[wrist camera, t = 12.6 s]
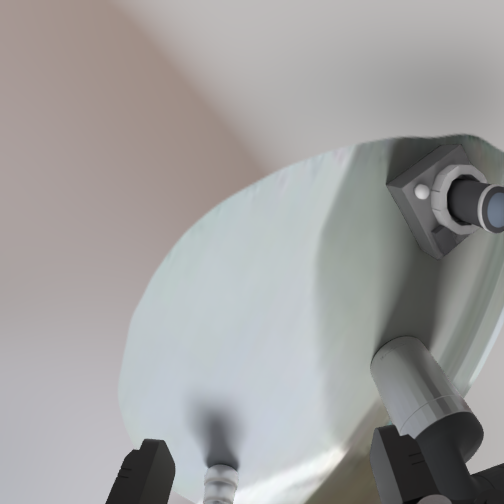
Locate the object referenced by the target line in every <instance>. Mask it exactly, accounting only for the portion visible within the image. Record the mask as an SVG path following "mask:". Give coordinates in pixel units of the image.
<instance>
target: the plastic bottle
mask: <svg viewBox="0 0 504 504" xmlns="http://www.w3.org/2000/svg"><path fill="white" fill-rule="evenodd" d="M238 483H239V479H238V474H237V472H236V471H235V470H234V469H233V468H232V467H230V466H227V465H222V464H218V465H214V466H212V467H210V468H209V469H208V470H207V472H206V474H205V478H204V484H205V492H204V501H203V504H233V501H234V496H235V491H236V489H237V486H238Z"/></svg>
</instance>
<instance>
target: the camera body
mask: <svg viewBox="0 0 504 504" xmlns="http://www.w3.org/2000/svg"><path fill="white" fill-rule="evenodd" d="M454 179H464V180H470V181H476V182H481V183H486V184H488V183H487V181H486V178H485V176H484V175H483V174H482V173H481V172H480V171H479V170H478V169H476V168H475V167H474V166H472V165H471V163H470V161H469V159H468V157H467V155H466V153H465V151H464V149H463V147H462V145H461V144H453V145H441V146H439V147H438V148H436V149H435V150H434V151H432V152H431V153H430V154H428V155H427V156H425V157H424V158H423V159H421V160H420V161H419V162H417V163H416V164H414V165H413V166H412V167H410V168H409V169H408V170H406V171H405V172H403V173H402V174H401V175H399V176H398V177H396V178H395V179H394V180H392V181H391V182H389V183H388V184H387V185H386V186H387V188H388V189H389V191H390V193H391V195H392V196H393V198H394V200H395V202H396V203H397V205H398V207H399V209H400V210H401V212H402V214H403V216H404V218H405V220H406V221H407V223H408V225H409V227H410V229H411V231H412V233H413V235H414V237H415V239H416V241H417V243H418V245H419V246H420V248H421V250H423V251H424V252H426V253H428V254H429V255H431V256H432V257H434V258H435V259H437V260H439V259H441V258H442V257H443V256H444V255H446V254H447V253H449V252H450V251H451V250H452V249H454V248H455V247H456V246H457V245H458V244H459V243H460V242H462V241H463V240H464V239H465V238H466V237H468V236H469V235H470V234H472V233H474V232H475V231H476V230H477V229H478V228H480V227H478V226H476V225H473V224H471V223H468V222H466V221H463V220H461V219H458V218H455V217H453V216H451V215H450V214H449V212H448V210H447V192H448V190H449V187H450V185H451V182H452V181H453V180H454Z"/></svg>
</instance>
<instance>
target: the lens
mask: <svg viewBox="0 0 504 504" xmlns="http://www.w3.org/2000/svg"><path fill="white" fill-rule="evenodd" d="M447 210H448V212H449V214H450V215H451V216H453V217H455V218H458V219H461V220H463V221H466V222H468V223H471V224H473V225H476V226H478V227H481V228H483V229H485V230H486V231H488V232H490V233H493V234H498V233H501V232H503V231H504V187H503V186H501V185H496V184H493V185H491V184H486V183H481V182H476V181H470V180H464V179H454V180H453V181H452V182H451V185H450V187H449V190H448V192H447Z"/></svg>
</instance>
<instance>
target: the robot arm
mask: <svg viewBox="0 0 504 504" xmlns="http://www.w3.org/2000/svg"><path fill="white" fill-rule="evenodd" d="M371 374H372V377H373V380H374V382H375V384H376V386H377V389H378V391H379V394H380V396H381V398H382V400H383V403H384V405H385V407H386V410H387V412H388V415H389V417H390V419H391V422H392V424H393V425H388V426H383V427H379V428H375V430H374V435H373V440H372V444H371V449H370V463H371V467H372V471H373V474H374V478H375V481H376V485H377V489H378V492H379V496H380V500H381V503H382V504H504V463H503V464H500V465H497V466H494V467H491V468H489V469H486V470H483V471H481V472H478V473H475V474H472V475H470V473H469V471H468V469H467V467H466V464H465V463H466V462H467V461H468V460H469V459H470V458H471V457H472V456H473V455H474V454H475V452H476V451H477V449H478V448H479V447H480V445H481V443H482V440H483V436H484V432H483V428H482V426H481V424H480V422H479V421H478V420H477V418H476V417H475V415H474V414H473V412H472V411H471V409H470V408H469V406H468V405H467V403H466V402H465V400H464V399H463V398H462V396H461V395H460V394H459V392H458V391H457V389H456V388H455V387H454V385H453V384H452V382H451V381H450V380H449V378H448V377H447V375H446V374H445V373H444V371H443V370H442V369H441V367H440V366H439V365H438V363H437V362H436V361H435V359H434V358H433V356H432V355H431V354H430V352H429V351H428V350H427V348H426V347H425V346H424V345H423V343H422V342H421V341H420V340H419V339H417V338H415V337H411V336H404V337H399V338H396V339H393V340H391V341H390V342H388V343H386V344H385V345H384V346H383V347H382V348H381V349H380V350H379V351H378V352H377V353H376V355H375V356H374V358H373V361H372V363H371ZM174 477H175V463H174V460H173V458H172V456H171V454H170V451H169V449H168V447H167V445H166V443H165V441H164V440H156V439H144V441H143V442H142V445H141V447H140V450H132V451H131V452H130V453H129V454H128V455H127V456H126V457H125V459H124V461H123V463H122V466H121V469H120V470H119V473H118V477H117V478H116V480H115V482H114V484H113V487H112V489H111V492H110V494H109V496H108V499H107V501H106V503H105V504H167V502H168V499H169V495H170V491H171V488H172V484H173V480H174Z"/></svg>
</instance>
